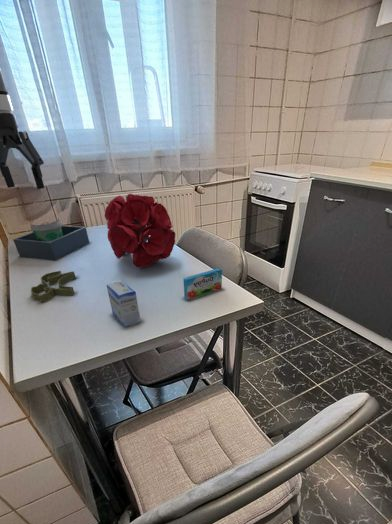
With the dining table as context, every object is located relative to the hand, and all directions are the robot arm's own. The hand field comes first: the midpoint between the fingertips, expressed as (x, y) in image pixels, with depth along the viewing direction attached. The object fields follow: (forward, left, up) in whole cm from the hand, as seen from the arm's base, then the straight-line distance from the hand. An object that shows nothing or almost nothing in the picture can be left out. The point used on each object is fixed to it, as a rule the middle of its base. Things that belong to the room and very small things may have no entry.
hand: (26, 187), depth 107 cm
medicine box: (+59, -38, -23) cm, 75 cm away
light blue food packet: (+74, -20, -23) cm, 80 cm away
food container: (+3, +2, -23) cm, 23 cm away
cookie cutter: (+28, -28, -23) cm, 46 cm away
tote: (+2, +3, -23) cm, 23 cm away
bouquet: (+44, -1, -23) cm, 50 cm away
